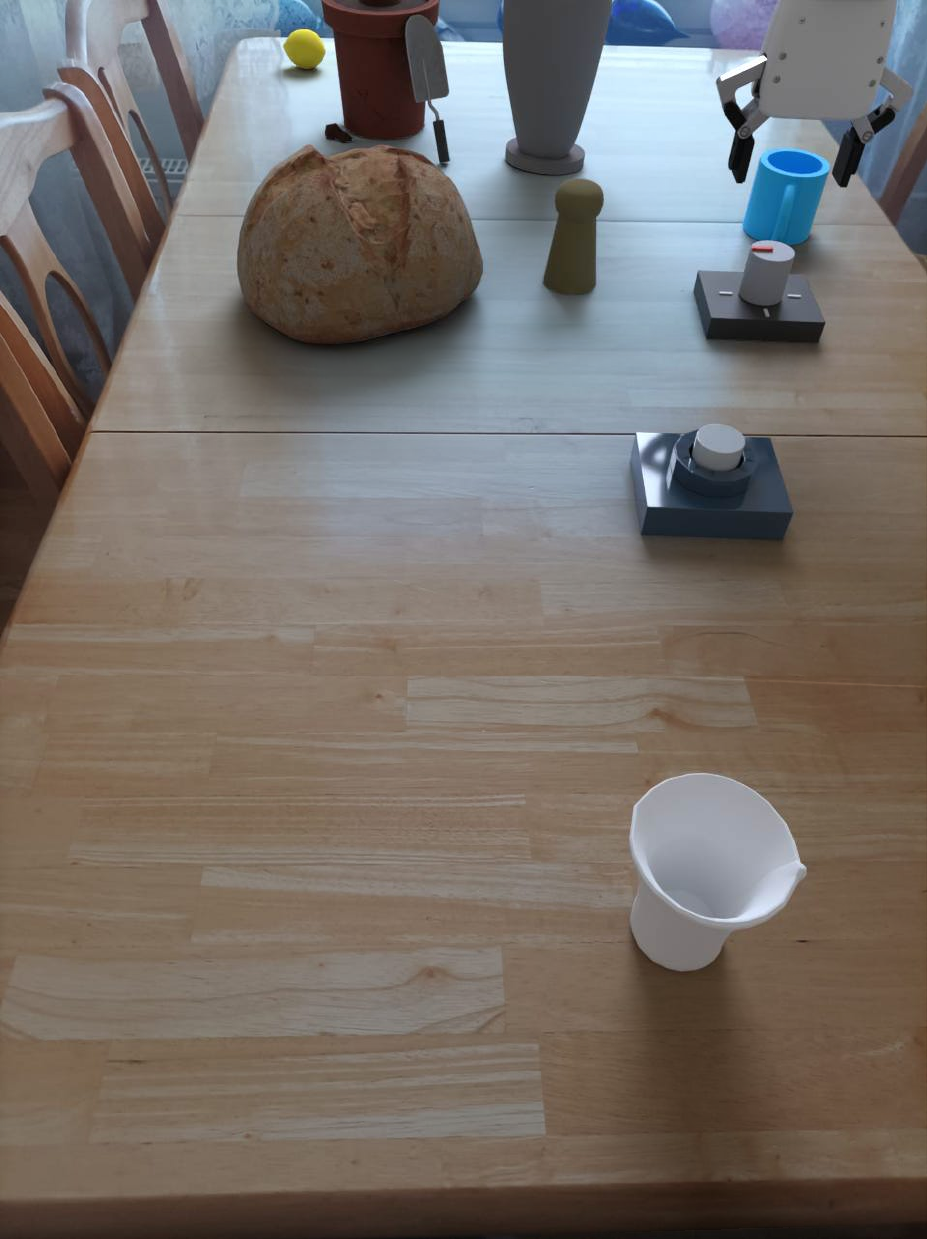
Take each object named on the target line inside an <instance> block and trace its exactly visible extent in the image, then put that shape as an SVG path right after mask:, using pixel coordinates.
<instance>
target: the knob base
mask: <svg viewBox="0 0 927 1239" xmlns="http://www.w3.org/2000/svg"><path fill="white" fill-rule="evenodd" d="M743 273H744V271H727V270H726V271H723V270H704V269H703V270H697V273H696V278H695V281H694V285H693V295H694V298H695V302H696V306H697V310H698V313H699V318H700V321H701V325H702V329H703V333H704V337H705V339H706V340H727V341H747V342H748V341H752V342H772V343H773V342H775V343H794V344H795V343H797V344H800V343H801V344H819V343H820V340H821V337H822V335H823V332H824V329H825V326H826V323H827V322H826V320H825V317H824V315H823V313H822V311H821V308H820V306H819V304H818V301H817V299H816V297H815V294H814V292H813V289H812V287H811V285H810V282H809V280H808V278H807V276H806V274H795V273H789V277H788V280H787V283H786V286H785V290H784V293H783V296H782V299H781V301H780V302H779V303H777V304H775V305H770V306H761V305H755V304H752V303H749V302H747V301H745V300H744V299H742V298H741V296H740V295H739V288H740V284H741V280H742V276H743Z"/></svg>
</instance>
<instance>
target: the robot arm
mask: <svg viewBox="0 0 927 1239" xmlns="http://www.w3.org/2000/svg"><path fill="white" fill-rule="evenodd" d="M897 6H898V0H777V1H776V4H775V7H774V10H773V13H772V15H771V18H770V21H769V24H768V26H767V30H766V33H765V35H764V38H763V41H762V42H763V43H762V45H761V48H760V52H759V55H758V57H757V58H755V59H753V60H751V61H749V62H746V63H744V64H742V65H740V66H738V67H736V68H733V69H731V70H730V71H727V72H726V73H723V74H721V75H719V76H718V77H717V78H716V80H715V86H716V89H717V93H718V98H719V101H720V106H721V109H722V112H723V114H724V116H725V117H726V119H727V120H728V122H729V123H730V124H731V126H732V128H733V129H734V134H733V140H732V144H731V148H730V151H729V157H728V161H727V168H728V170H729V171H731V173H732V176H733V179H734V181H735V183H736V184H739V185H741V184H743V183H745V182H746V179H747V176H748V172H749V168H750V164H751V159H752V156H753V152H754V148H755V144H756V139H755V138H754V136H753V134H754V132H756V131H757V130H758V129H759V128H760V127H761V126H762V125H763V124H764V123H765V122H766V121H768V120H769V119H770V118H772V119H782V120H783V119H785V120H786V119H787V120H807V121H810V120H811V121H831V122H833V121H834V122H835V121H837V122H847V121H849V124H850V126H851V127H850V129H846V130H845V133H843V135H842V139H841V142H840V145H839V148H838V151H837V154H836V158H835V161H834V164H833V167H832V170H831V175H832V177H833V179H834V181H835V182H836V184H837V186H839V188H844V189H845V188H848V186H849V183H850V180H851V177H852V176H853V175H856V173H857V171H858V168H859V166H860V163H861V159H862V157H863V153H864V150H865V147H866V145H867V144H870V143H871V142H872V141H873V140H874V138H875V135H877V134H878V133H879V132H881V131H882V130H883V129H885V128H886V127H887V126H889V125H890V124H892V122H894V120H895V119H896V115H897V114H898V113H900V112H901V111H902V109H903V108H904V107H905V106H906V105H907V104H908V103H909V101H910V100H911V99H912V98H913V96H914V94H915V90H914V88H913V87H912V85H911V84H910V83H909V82H907V81H906V80H905V79H904V78H902V77H901V76H899V74H897V73H896V72H895V71H893V70H892V69H890V68H889V67H888V66H886V61H887V59H888V58H887V57H888V54H889V49H890V44H891V40H892V35H893V29H894V25H895V24H894V23H895V20H896V19H895V18H896V13H897ZM749 84H751V85H750V94H751V96H752V97H753V98H752V99H751V100H750V101H749V102H748V103H747V104H746V105H745V106H744V107H743V108H740V106H739V104H738V103H737V98H736V92H737V91H738V90H739V89H740V88H742V87H744V86H746V85H749ZM880 86H881V87H883V89H884V90H886V91H888V92H889V95H888V96H887V98H886V99H885V101H884V102H883V103H881V104H880V105H879V106H877V107H875V108H874V109H873V110H872V111H871V109H872V107H873V105H874V102H875V100H876V96H877V93H878V91H879V87H880ZM870 111H871V112H870Z"/></svg>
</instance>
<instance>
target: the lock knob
mask: <svg viewBox="0 0 927 1239" xmlns="http://www.w3.org/2000/svg"><path fill="white" fill-rule="evenodd" d="M748 251H749V252H748V254H747V259H746V262H745V266H744V269H743V272H744V273H743V276H742V280H741V284H740V288H739V295H740V296H741V298H742V299H744V300H745V301H747V302H749V303H752V304H755V305H761V306H770V305H775V304H777V303H779V302H780V301H781V299H782V296H783V293H784V290H785V286H786V283H787V280H788V277H789V274H791V270H792V267H793V263H794V260H795V257H796V252H795V250H794V249H793V248H792V247H791V245H786V244H784V243H781V242H777V241H770V240H764V241H759V240H757V241H756V242H755V241H754V242H753V243H752V244H751V245H750V247H749V250H748Z"/></svg>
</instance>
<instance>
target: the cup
mask: <svg viewBox="0 0 927 1239" xmlns="http://www.w3.org/2000/svg"><path fill="white" fill-rule="evenodd" d="M628 845H629V846H628V847H629V851H630V856H631V860H632V863H633V865H634V866H635V868H636V870H637V872H636V874H637V882H638V886H637V891H636V892H637V893H636V896H635V898H634V901H633V903H632V906H631V907H632V908H631V911H630V917H629V924H630V929H631V932H632V936H633V937H634V939H635V942H636V944H637V946H638V948H639V950H641V951H642V952H643V953H644V954H645V955H646V956H647V958H648V959H649V960H650V961H651V962H653V963H655V964H657V965H660V966H661V967H663V968H666V969H668V970H673V971H676V972H691V971H698V970H700V969H702V968H705V967H707V966H708V965H710V964H711V963H712V962H714V961H715V960H716V958H718V956H719V954H720V953H721V951H722V948H723V945H724V944H725V942H726V940H727V939H728V937H729V936H730V935H731V934H732V932H734V931H738V930H745V929H750V928H753V927H755V926H758V925H761V924H763V923H766V922H768V921H770V919H771V918H773V917H774V916H776V914H778V913H779V912H780V911H781V910H783V909H785V907H786V905H787V904H788V902H789V900H790V898H792V895H793V894H794V891H795V890H796V888H797V886H798V884H799V883H800V882H802V880H804V879H805V878H806V877H807V875H808V873H807V872H808V871H807V866H805V864H803V863H802V862H801V859H800V855H799V851H798V847H797V844H796V842H795V839H794V836H793V835H792V833H791V830H790V828H789V826H788V824H787V822H786V821H785V820H784V819H783V818H782V816H781V815H780V814H779V812H777V810H776V809H775V807H773V805H772V804H771V803H770V802H769V801H768V800H767V799H765V798H764V797H763V795H761V794H759V793H758V792H757V791H756V790H754V789H752V788H750V787H749V786H747V785H746V784H743V783H742V782H739V781H738V780H735V779H732V778H730V777H727V776H724V775H719V774H714V773H707V772H701V773H700V772H699V773H698V772H697V773H686V774H683V775H679V776H674V777H670V778H666V779H665V780H663V781H661V782H659V783H658V784H656V785H655V786H653V787H651V788H650V789H649V790H648V791H646V793H645V794H644V795H643V796H642V797H641V798H640V799H639V800H638V801H637V802H636V803H635V804H634V805H633V809H632V817H631V824H630V830H629V836H628Z"/></svg>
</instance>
